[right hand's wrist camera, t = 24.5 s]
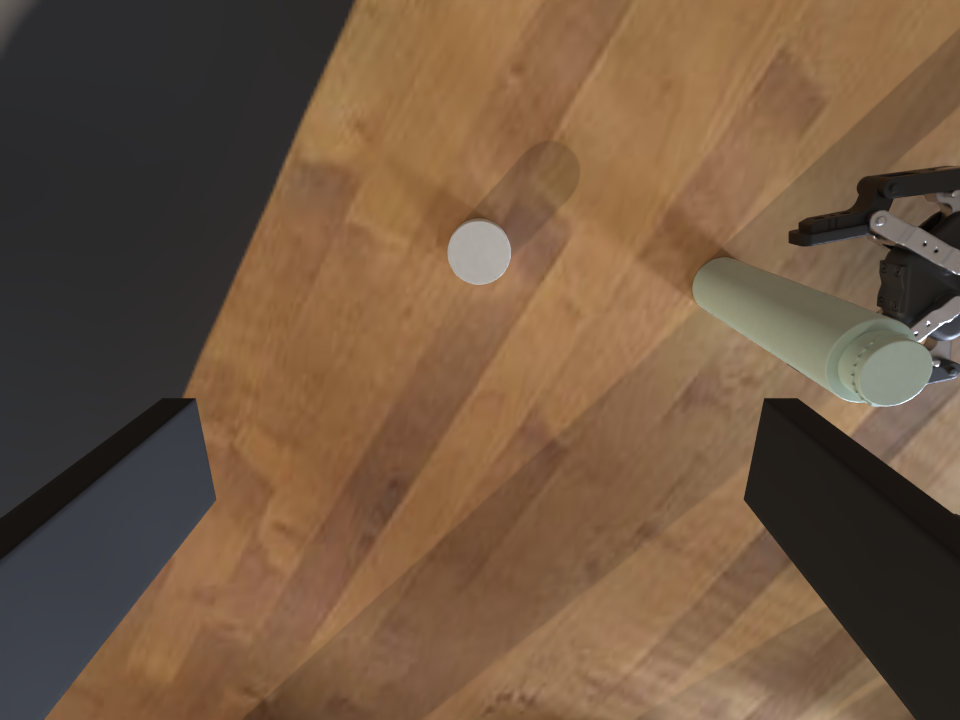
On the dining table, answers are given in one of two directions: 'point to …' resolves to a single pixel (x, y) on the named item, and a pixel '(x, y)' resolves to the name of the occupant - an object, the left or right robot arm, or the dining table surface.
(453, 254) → the lid
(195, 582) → the dining table surface
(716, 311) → the green bottle
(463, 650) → the dining table surface
